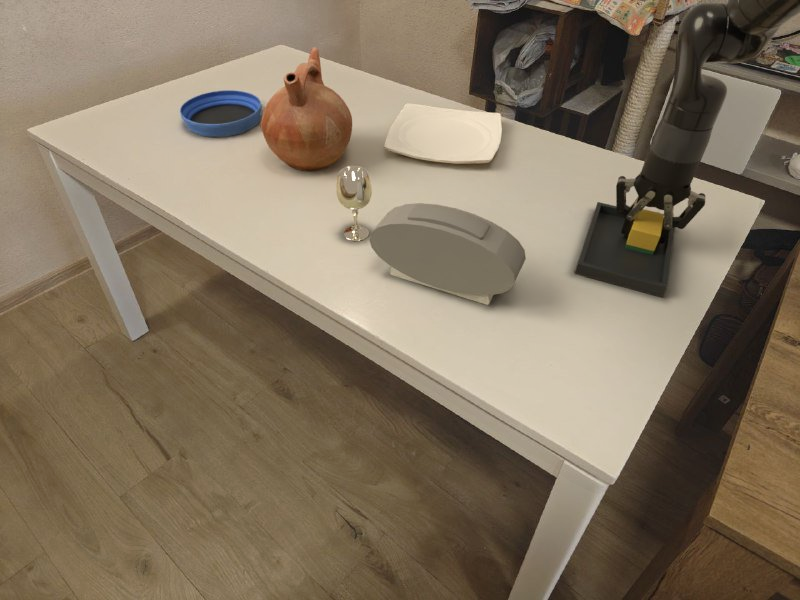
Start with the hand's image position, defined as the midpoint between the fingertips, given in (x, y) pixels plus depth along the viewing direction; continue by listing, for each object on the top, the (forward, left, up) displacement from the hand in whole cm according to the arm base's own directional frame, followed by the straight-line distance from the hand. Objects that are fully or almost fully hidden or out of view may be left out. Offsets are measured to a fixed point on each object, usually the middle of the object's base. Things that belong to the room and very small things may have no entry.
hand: (641, 238), depth 94 cm
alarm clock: (+28, +24, -1) cm, 36 cm away
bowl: (+94, -8, -1) cm, 94 cm away
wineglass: (+46, +18, -1) cm, 50 cm away
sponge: (0, 0, 0) cm, 0 cm away
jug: (+67, -2, -1) cm, 67 cm away
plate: (+44, -21, -1) cm, 49 cm away
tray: (+2, +3, -1) cm, 4 cm away
